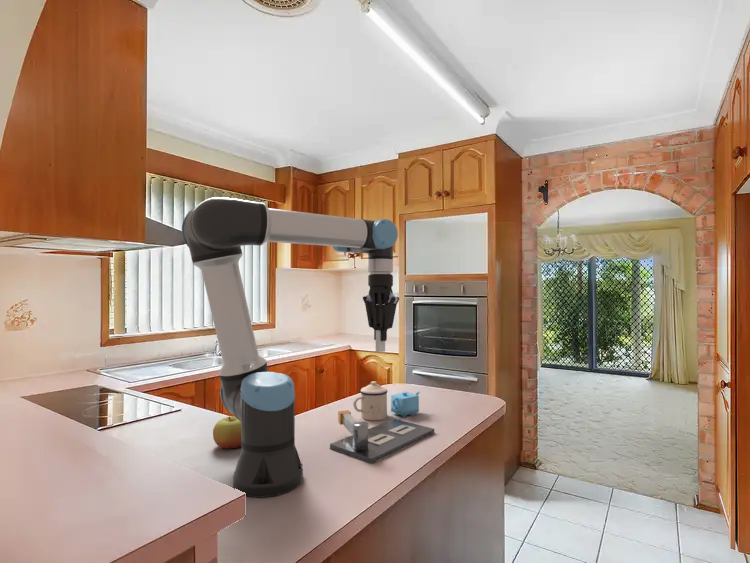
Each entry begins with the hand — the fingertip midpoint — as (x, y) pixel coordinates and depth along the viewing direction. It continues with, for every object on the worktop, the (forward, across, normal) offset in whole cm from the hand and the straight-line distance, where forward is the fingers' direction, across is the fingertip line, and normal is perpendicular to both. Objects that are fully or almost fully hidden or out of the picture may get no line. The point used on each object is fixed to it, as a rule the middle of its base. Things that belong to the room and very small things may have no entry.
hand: (380, 351), depth 129 cm
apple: (+25, +23, +36) cm, 49 cm away
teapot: (+24, +4, -18) cm, 30 cm away
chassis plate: (+24, -6, +5) cm, 25 cm away
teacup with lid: (+24, +11, -7) cm, 27 cm away
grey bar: (+22, -1, +13) cm, 26 cm away
